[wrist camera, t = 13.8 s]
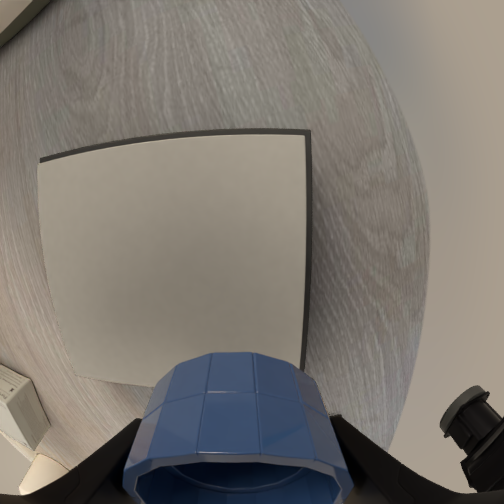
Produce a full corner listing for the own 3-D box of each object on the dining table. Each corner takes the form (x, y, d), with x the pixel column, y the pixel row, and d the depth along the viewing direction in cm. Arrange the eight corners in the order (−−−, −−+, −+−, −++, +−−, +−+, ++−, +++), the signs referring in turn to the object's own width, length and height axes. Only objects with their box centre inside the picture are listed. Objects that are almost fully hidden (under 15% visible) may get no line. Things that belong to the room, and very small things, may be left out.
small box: (31, 377, 18) (6, 405, 13) (52, 426, 20) (34, 453, 15) (-11, 355, 18) (-35, 375, 13) (9, 403, 20) (-9, 425, 15)
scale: (300, 138, 15) (314, 126, 12) (296, 363, 18) (305, 392, 15) (61, 160, 15) (31, 157, 11) (90, 357, 18) (72, 380, 15)
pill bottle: (66, 483, 24) (47, 525, 13) (31, 454, 22) (7, 496, 12) (86, 483, 23) (66, 532, 12) (46, 452, 22) (19, 501, 11)
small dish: (328, 337, 9) (382, 433, 4) (309, 448, 10) (329, 525, 6) (140, 340, 9) (85, 433, 4) (172, 450, 10) (157, 527, 5)
